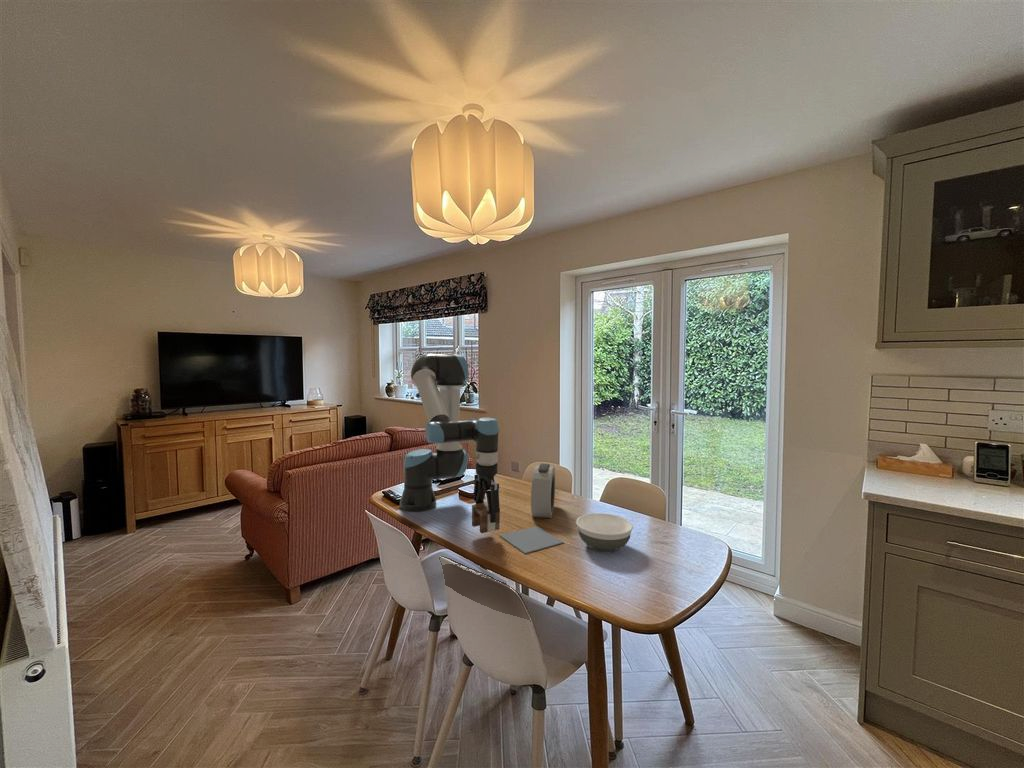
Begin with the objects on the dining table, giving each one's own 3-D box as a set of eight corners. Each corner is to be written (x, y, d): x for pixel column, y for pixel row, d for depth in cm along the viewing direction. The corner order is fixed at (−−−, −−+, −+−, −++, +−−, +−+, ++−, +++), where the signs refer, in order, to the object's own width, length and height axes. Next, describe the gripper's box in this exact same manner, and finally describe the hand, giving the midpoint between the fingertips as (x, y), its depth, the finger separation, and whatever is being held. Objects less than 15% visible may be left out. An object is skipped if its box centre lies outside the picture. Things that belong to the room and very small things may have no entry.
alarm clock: (549, 522, 165) (550, 471, 164) (530, 520, 166) (531, 470, 165) (555, 504, 186) (555, 459, 184) (538, 502, 187) (538, 458, 186)
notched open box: (471, 525, 151) (472, 504, 150) (488, 521, 155) (489, 501, 154) (481, 533, 144) (482, 512, 144) (499, 529, 148) (499, 508, 148)
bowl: (622, 565, 131) (623, 539, 130) (566, 550, 141) (567, 525, 140) (639, 543, 147) (639, 520, 146) (588, 531, 156) (588, 509, 156)
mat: (499, 536, 151) (499, 535, 151) (536, 527, 159) (536, 526, 159) (524, 554, 137) (524, 552, 137) (563, 543, 146) (563, 542, 146)
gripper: (464, 457, 154) (463, 518, 156) (491, 471, 137) (490, 540, 139) (482, 454, 158) (481, 514, 160) (511, 468, 141) (509, 535, 143)
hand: (485, 526), depth 150 cm, fingers closed on notched open box, 7 cm apart
